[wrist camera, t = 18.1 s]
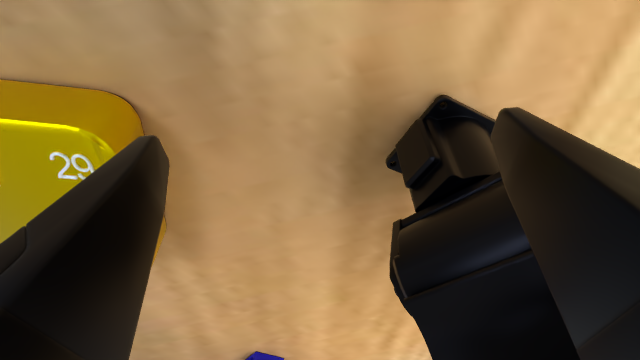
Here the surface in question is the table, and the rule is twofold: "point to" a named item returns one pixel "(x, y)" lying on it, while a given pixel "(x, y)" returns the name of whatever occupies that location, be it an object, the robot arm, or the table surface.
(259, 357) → the cable clip
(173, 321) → the table surface
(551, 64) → the table surface
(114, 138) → the element tile
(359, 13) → the table surface
